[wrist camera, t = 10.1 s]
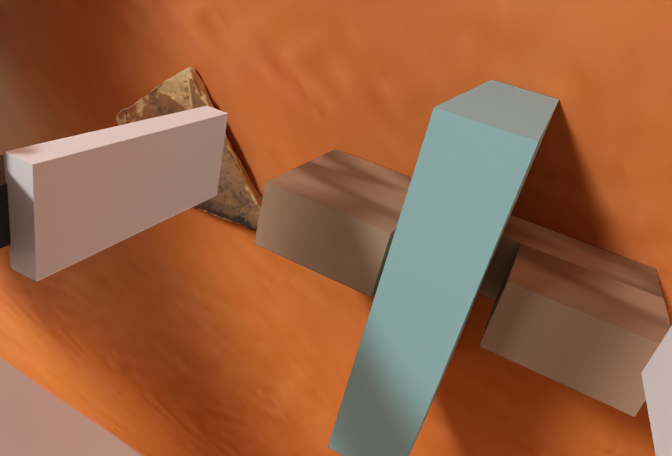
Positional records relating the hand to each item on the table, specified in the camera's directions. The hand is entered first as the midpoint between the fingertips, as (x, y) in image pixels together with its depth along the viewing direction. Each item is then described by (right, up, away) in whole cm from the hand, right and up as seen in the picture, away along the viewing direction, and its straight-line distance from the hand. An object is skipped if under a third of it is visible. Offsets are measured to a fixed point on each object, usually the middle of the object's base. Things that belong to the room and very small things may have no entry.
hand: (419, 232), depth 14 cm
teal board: (+4, 0, +12) cm, 13 cm away
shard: (-10, +5, +17) cm, 21 cm away
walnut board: (+4, 0, +12) cm, 13 cm away
